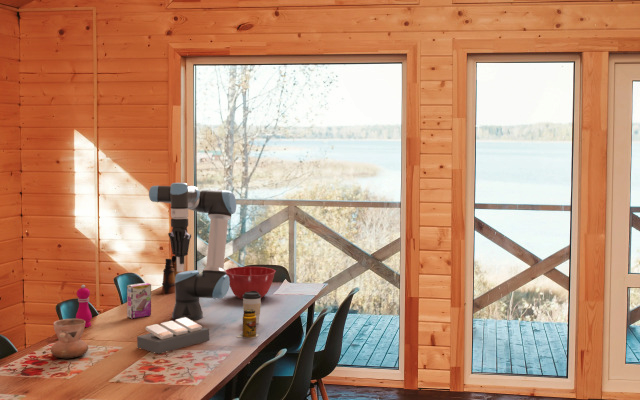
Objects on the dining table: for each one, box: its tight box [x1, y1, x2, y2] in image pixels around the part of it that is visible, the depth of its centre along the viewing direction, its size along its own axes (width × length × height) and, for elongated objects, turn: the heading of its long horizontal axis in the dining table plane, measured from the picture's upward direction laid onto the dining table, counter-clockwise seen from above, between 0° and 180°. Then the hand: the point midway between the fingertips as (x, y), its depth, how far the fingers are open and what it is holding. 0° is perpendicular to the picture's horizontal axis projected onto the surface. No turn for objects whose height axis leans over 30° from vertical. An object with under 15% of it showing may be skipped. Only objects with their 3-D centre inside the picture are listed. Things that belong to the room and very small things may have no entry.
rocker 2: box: [160, 320, 188, 336], centre depth 314 cm, size 11×6×2 cm, turn 51°
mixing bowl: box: [224, 266, 276, 300], centre depth 412 cm, size 28×28×16 cm
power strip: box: [136, 326, 210, 355], centre depth 316 cm, size 14×31×6 cm, turn 141°
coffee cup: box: [242, 291, 262, 325], centre depth 353 cm, size 9×9×15 cm
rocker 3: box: [174, 317, 203, 332], centre depth 321 cm, size 11×6×2 cm, turn 51°
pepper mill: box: [75, 284, 93, 329], centre depth 344 cm, size 7×7×20 cm
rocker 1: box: [144, 323, 173, 340], centre depth 308 cm, size 11×6×2 cm, turn 51°
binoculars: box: [161, 255, 181, 295], centre depth 430 cm, size 18×8×20 cm, turn 171°
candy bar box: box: [126, 282, 152, 320], centre depth 365 cm, size 11×5×16 cm, turn 135°
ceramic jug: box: [50, 318, 89, 359], centre depth 297 cm, size 18×14×14 cm
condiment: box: [236, 309, 260, 339], centre depth 328 cm, size 7×8×12 cm
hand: (180, 271), depth 322 cm, fingers closed
